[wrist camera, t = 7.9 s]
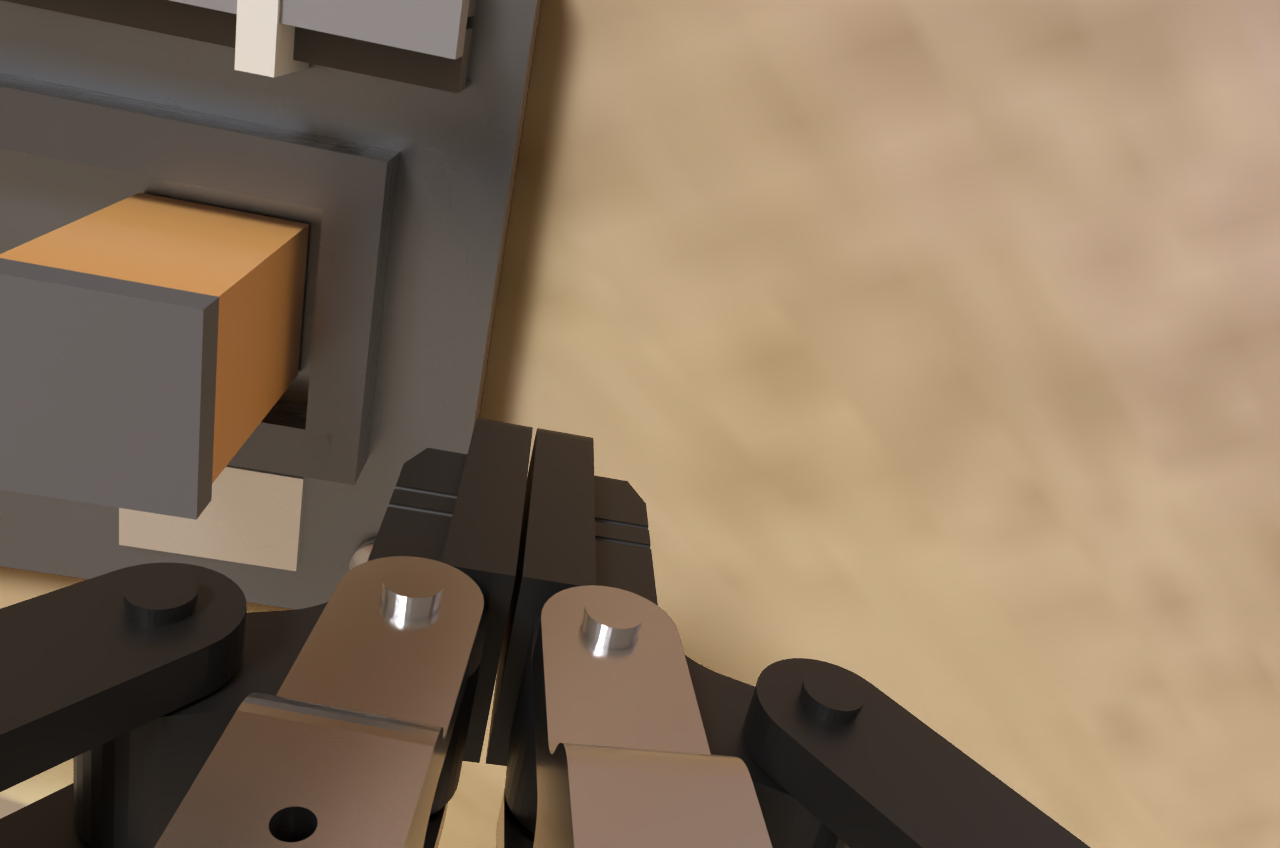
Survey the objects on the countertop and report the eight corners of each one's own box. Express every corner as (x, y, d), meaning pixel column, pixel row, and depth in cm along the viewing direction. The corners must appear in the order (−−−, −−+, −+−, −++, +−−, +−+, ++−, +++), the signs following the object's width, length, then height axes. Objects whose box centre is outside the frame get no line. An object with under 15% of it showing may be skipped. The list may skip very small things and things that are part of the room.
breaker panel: (550, -57, 18) (541, -64, 16) (452, 593, 24) (434, 665, 21) (-557, -302, 16) (-764, -354, 14) (-387, 467, 22) (-515, 529, 19)
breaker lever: (314, 219, 18) (203, 309, 13) (302, 380, 20) (196, 519, 15) (134, 185, 18) (-53, 264, 13) (133, 351, 19) (-39, 483, 14)
